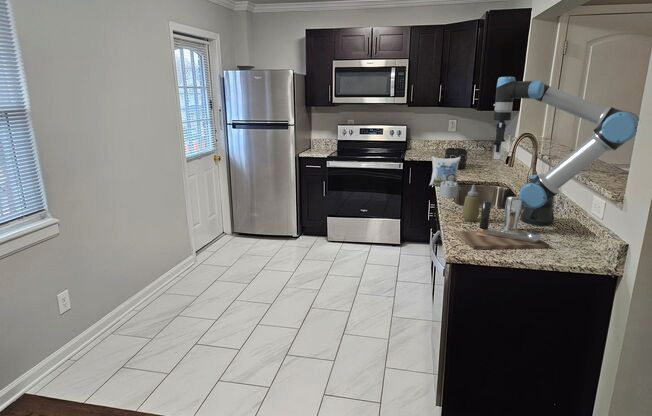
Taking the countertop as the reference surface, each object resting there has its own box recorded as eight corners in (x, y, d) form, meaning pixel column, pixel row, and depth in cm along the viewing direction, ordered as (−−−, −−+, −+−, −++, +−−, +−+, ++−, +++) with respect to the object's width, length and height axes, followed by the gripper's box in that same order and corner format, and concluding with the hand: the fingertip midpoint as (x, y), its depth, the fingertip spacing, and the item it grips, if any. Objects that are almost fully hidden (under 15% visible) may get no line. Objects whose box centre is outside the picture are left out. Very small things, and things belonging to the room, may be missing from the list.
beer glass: (498, 228, 197) (503, 197, 193) (510, 226, 199) (514, 196, 195) (510, 232, 191) (514, 200, 187) (521, 231, 193) (526, 199, 189)
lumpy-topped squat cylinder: (457, 194, 260) (459, 180, 258) (456, 199, 249) (458, 184, 246) (440, 192, 264) (441, 179, 261) (438, 197, 252) (439, 183, 249)
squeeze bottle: (465, 216, 214) (469, 182, 209) (480, 220, 209) (485, 184, 204) (458, 220, 208) (462, 184, 203) (474, 223, 203) (479, 187, 198)
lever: (540, 240, 176) (545, 208, 172) (538, 244, 172) (544, 211, 168) (480, 230, 188) (483, 199, 184) (477, 233, 184) (481, 202, 180)
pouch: (428, 184, 287) (430, 155, 281) (456, 185, 285) (459, 155, 280) (430, 186, 279) (432, 156, 273) (459, 187, 278) (462, 157, 272)
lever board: (522, 232, 192) (523, 228, 191) (548, 247, 173) (549, 244, 172) (455, 233, 189) (455, 229, 189) (473, 249, 170) (474, 245, 170)
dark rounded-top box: (460, 171, 335) (462, 151, 331) (439, 167, 347) (441, 149, 343) (470, 168, 348) (472, 149, 344) (450, 165, 360) (452, 147, 355)
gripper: (496, 110, 207) (491, 153, 213) (491, 112, 186) (486, 160, 191) (512, 110, 204) (507, 154, 210) (510, 112, 183) (504, 161, 188)
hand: (497, 157), depth 201 cm, fingers open, 13 cm apart
